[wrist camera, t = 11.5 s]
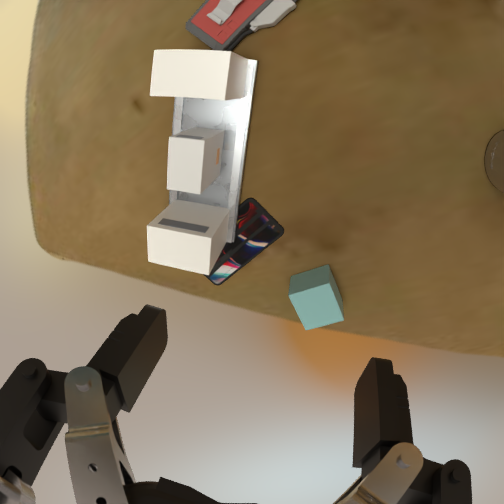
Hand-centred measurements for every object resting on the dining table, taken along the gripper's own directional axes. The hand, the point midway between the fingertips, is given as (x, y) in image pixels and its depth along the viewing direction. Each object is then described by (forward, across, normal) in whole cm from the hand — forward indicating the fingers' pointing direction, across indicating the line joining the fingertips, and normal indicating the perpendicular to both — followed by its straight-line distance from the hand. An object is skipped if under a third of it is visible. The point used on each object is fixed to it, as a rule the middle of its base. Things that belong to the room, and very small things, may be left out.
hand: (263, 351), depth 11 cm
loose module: (+30, +13, 0) cm, 33 cm away
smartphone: (+32, +8, +14) cm, 36 cm away
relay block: (+30, -4, +16) cm, 34 cm away
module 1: (+30, +13, -10) cm, 34 cm away
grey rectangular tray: (+32, +13, 0) cm, 34 cm away
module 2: (+31, +13, +11) cm, 35 cm away
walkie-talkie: (+32, +9, -21) cm, 39 cm away
